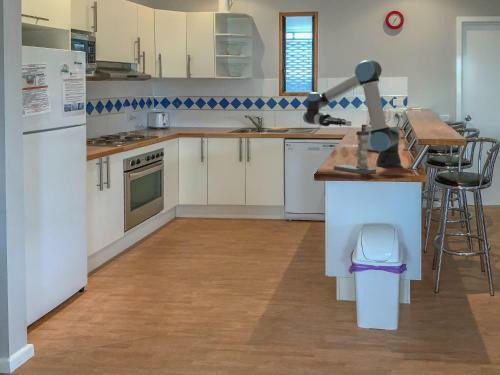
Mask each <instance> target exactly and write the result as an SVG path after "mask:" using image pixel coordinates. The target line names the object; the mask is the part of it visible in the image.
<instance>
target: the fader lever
mask: <svg viewBox="0 0 500 375" xmlns="http://www.w3.org/2000/svg"><path fill="white" fill-rule="evenodd" d="M355 134H356V136H357V147H356V148H357V154H356V157H357V162H356V165H355V166H356V168H358V169H367V168H369V166H368V150H367V145H368V135H369V132H368V131H362V130H358V131H356V133H355Z"/></svg>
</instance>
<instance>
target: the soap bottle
mask: <svg viewBox="0 0 500 375" xmlns="http://www.w3.org/2000/svg"><path fill="white" fill-rule="evenodd" d="M367 125H368V126H366V131H368V132H369V135H368V145H367V151H373V152H377V151H376V150H374V149H373V148H372V147H371V145H370V137H371V134H370V130H371V128H372V126H371V122H370V121H369V124H367Z"/></svg>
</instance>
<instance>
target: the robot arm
mask: <svg viewBox="0 0 500 375" xmlns="http://www.w3.org/2000/svg"><path fill="white" fill-rule="evenodd" d="M382 71H383V70H382V66H381V65H380V63H379V62H377V61H375V60H368V59H367V60H363V61H360V62H358V63H357V65H356V66H355V69H354V74H353V75H351V76H350V77H348V78H347V79H344V80H343V81H342V82H341V81H340V82H339V83H338V84H336V85H334V86H333V87H331V88H329V89H327V90H326V91H324V92H322V93H319V92H313V91H312V92H308V94H307V104H306V105H307V107H306V111H305V112H304V113H303V116H302V120H303V122H304V123H306V124H308V125H315V126H319V127H321V126H323V127H329V126H330V125H332V126H333V125H334V126H335V125H336V126H339V127H342V126H346V127H351V126H352V121H351V120H350V121H349V120H346V119H345V118H339V117H333V116H331V114H329V113H324V112H320V108H325V107H327V106H328V105H329V104H331V103H332V102H334V101H336V100H338V99H339V98H341V97H342V96H345V95H347V93H350V92H352V91H354V90H355V89H357V88H358V87H361V88H362V89H363V93H364V98H365V103H366V108H367V112H368V117H369V123H370V122H371V126H372V128H371V130H370V134H371V137H370V145H371V147H372V148H373V149H374V150H376V151H375V152H378V155H377V159H376V161H375V166H377V167H383V168H392V167H393V168H394V167H395V168H396V167H401V166H402V161H401V158H400V154H399V147H400V146H399V145H400V129H399V128H397V127H390V126H389V125H388V124H387V123H386V117H385V114H384V109H383V104H382V99H381V95H380V91H379V82H380V76H381V74H382Z"/></svg>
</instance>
